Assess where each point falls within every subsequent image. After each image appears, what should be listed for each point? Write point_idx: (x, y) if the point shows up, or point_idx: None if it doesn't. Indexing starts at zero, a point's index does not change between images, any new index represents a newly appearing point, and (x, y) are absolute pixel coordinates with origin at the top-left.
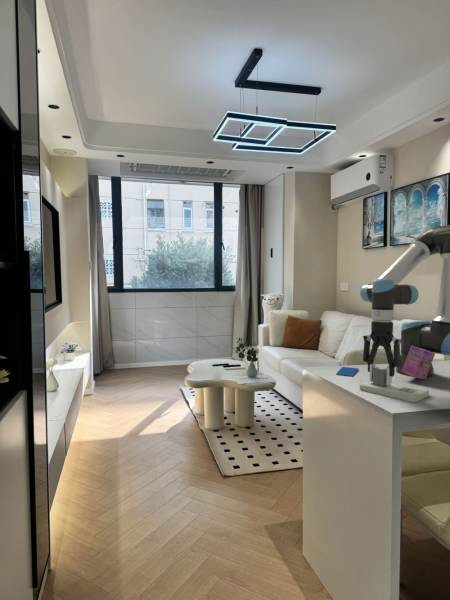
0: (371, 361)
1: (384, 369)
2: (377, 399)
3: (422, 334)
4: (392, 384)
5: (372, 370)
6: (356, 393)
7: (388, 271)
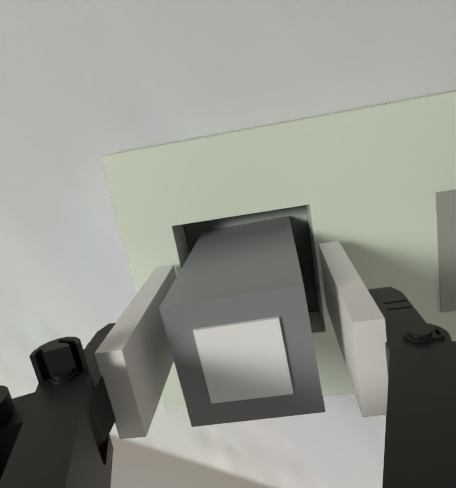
0: (93, 425)
1: (304, 368)
2: (383, 466)
3: None
4: (312, 188)
5: (159, 367)
6: (223, 462)
7: None
